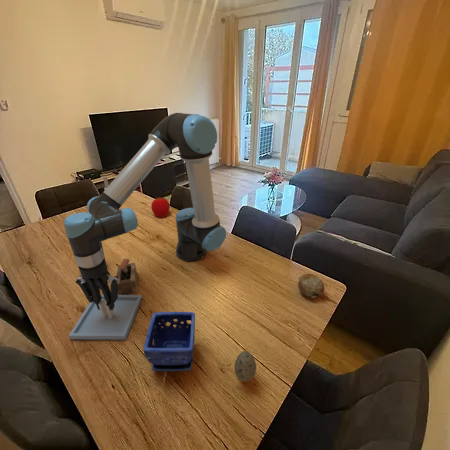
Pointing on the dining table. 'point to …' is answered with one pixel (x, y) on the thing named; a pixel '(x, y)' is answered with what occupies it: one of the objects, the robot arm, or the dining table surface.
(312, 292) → the bread roll
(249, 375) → the decorative egg
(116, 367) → the dining table surface
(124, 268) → the mallet
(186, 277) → the dining table surface
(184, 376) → the dining table surface
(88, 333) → the tray
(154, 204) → the red apple
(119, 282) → the brown hollow block
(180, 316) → the flower pot
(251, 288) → the dining table surface
